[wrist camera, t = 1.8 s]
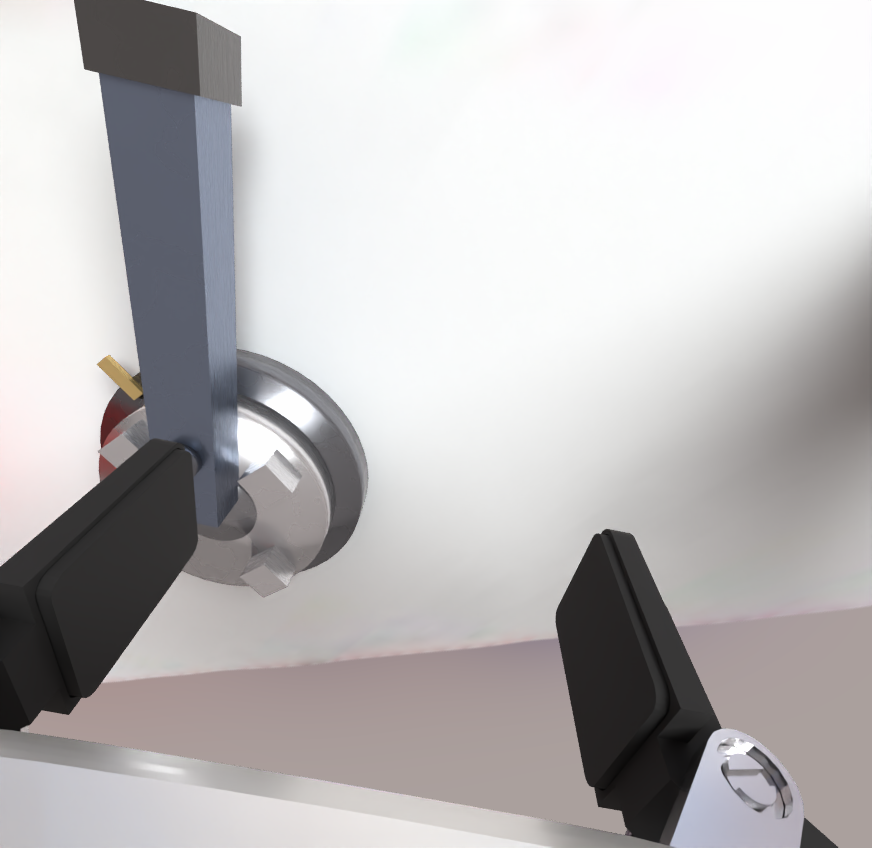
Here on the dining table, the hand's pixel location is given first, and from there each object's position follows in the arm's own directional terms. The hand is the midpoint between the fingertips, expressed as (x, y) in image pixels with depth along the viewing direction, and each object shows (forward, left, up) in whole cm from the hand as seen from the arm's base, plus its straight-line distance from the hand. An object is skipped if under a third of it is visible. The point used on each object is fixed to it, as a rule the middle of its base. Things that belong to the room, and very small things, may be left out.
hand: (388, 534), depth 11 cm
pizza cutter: (+10, +4, -13) cm, 18 cm away
